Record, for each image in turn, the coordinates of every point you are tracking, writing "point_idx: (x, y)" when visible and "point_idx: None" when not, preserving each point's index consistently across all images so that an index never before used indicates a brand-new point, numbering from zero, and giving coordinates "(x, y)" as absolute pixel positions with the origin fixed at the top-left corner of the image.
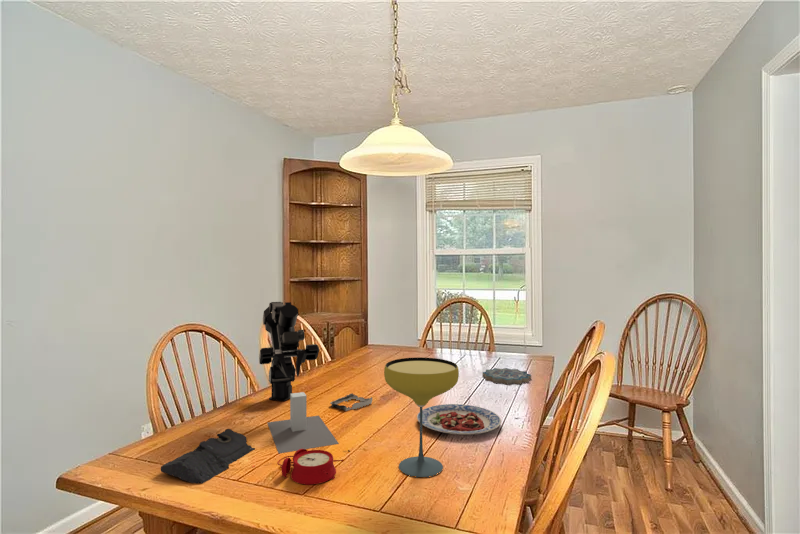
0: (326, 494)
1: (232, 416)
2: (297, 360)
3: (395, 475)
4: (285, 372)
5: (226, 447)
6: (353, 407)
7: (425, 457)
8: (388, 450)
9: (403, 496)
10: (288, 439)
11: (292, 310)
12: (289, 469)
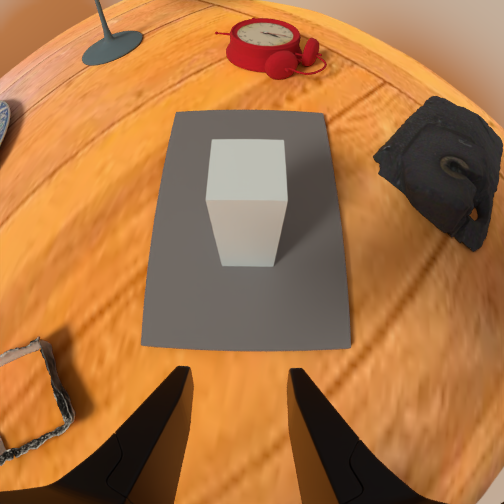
0: None
1: (441, 459)
2: (130, 490)
3: (154, 36)
4: (317, 389)
5: (437, 144)
6: (20, 351)
7: (89, 58)
8: (107, 86)
9: (177, 13)
10: (293, 169)
11: None
12: (303, 64)
